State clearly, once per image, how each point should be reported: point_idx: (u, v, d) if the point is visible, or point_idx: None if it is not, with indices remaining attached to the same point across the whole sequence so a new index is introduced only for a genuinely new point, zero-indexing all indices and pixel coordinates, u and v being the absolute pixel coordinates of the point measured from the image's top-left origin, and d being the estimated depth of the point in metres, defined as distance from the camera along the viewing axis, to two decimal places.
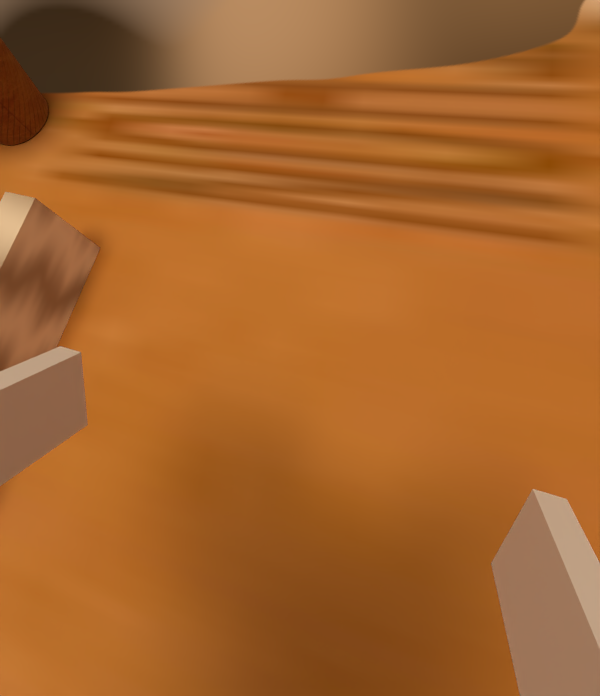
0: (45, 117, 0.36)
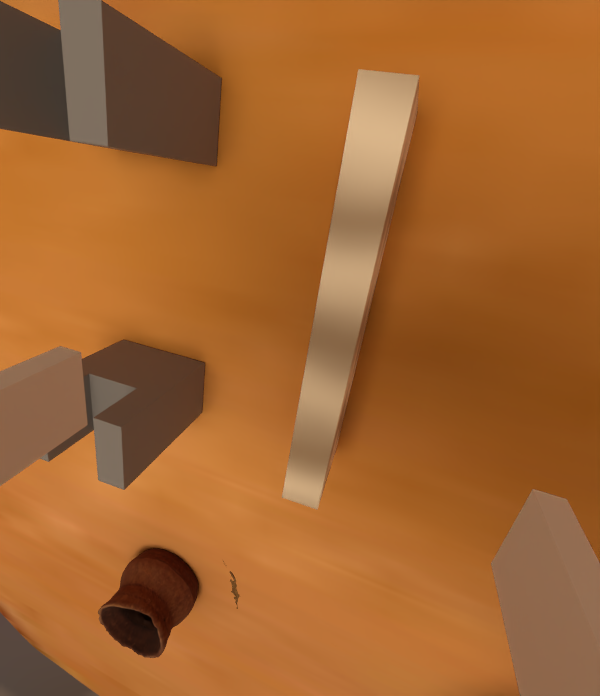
0: None
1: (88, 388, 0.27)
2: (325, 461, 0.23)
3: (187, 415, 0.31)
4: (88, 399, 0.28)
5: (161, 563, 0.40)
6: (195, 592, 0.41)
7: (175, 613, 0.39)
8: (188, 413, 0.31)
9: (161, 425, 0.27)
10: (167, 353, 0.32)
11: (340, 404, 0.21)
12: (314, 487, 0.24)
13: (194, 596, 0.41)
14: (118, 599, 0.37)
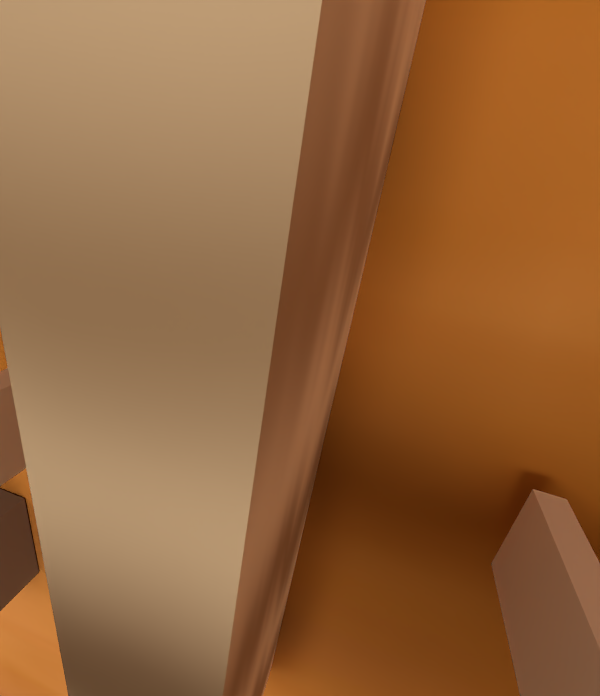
0: None
1: None
2: None
3: None
4: None
5: None
6: None
7: None
8: None
9: None
10: None
11: None
12: None
13: None
14: None
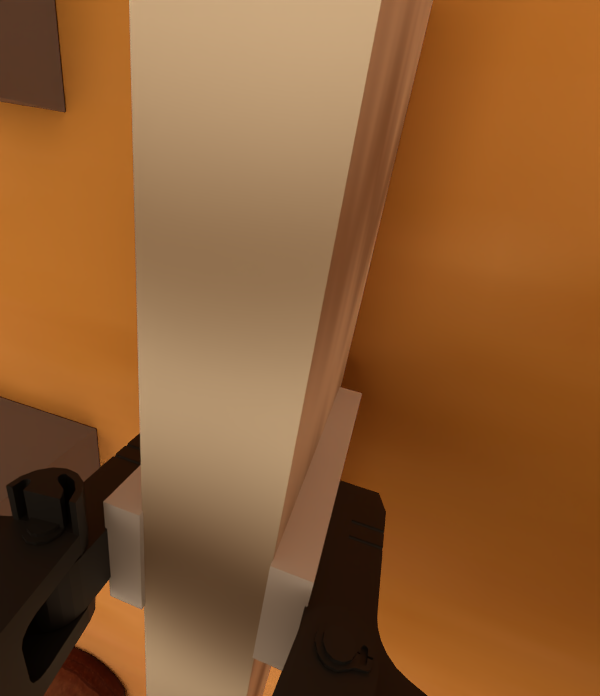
0: None
1: None
2: None
3: None
4: None
5: (67, 673, 0.30)
6: None
7: None
8: None
9: None
10: (40, 413, 0.21)
11: None
12: None
13: None
14: None
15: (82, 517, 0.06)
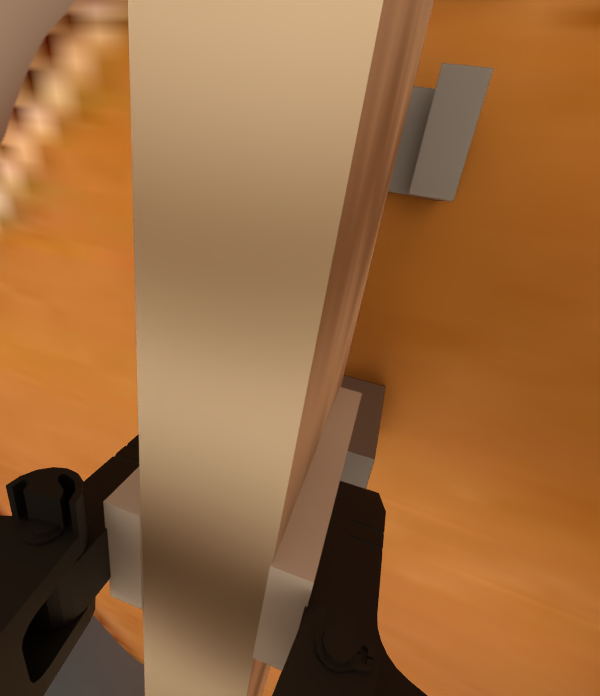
0: None
1: None
2: None
3: None
4: None
5: None
6: None
7: None
8: None
9: None
10: (346, 377, 0.32)
11: None
12: None
13: None
14: None
15: (82, 517, 0.06)
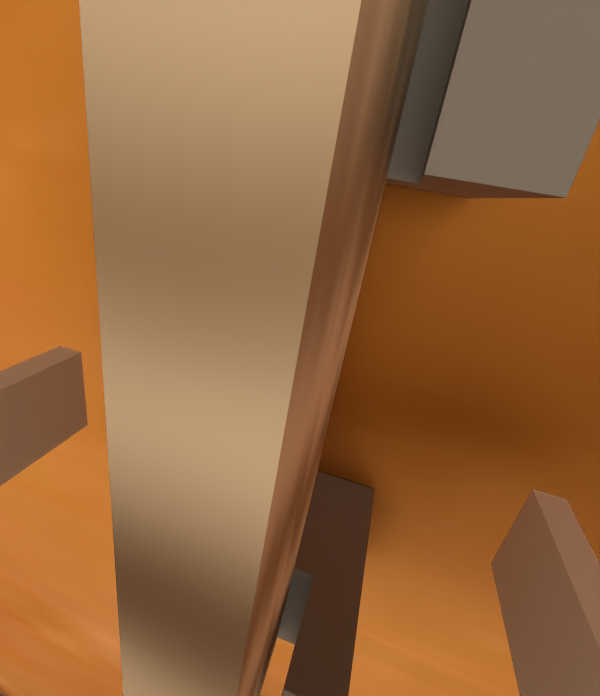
0: None
1: None
2: None
3: None
4: None
5: None
6: None
7: None
8: None
9: None
10: None
11: None
12: None
13: None
14: None
15: None
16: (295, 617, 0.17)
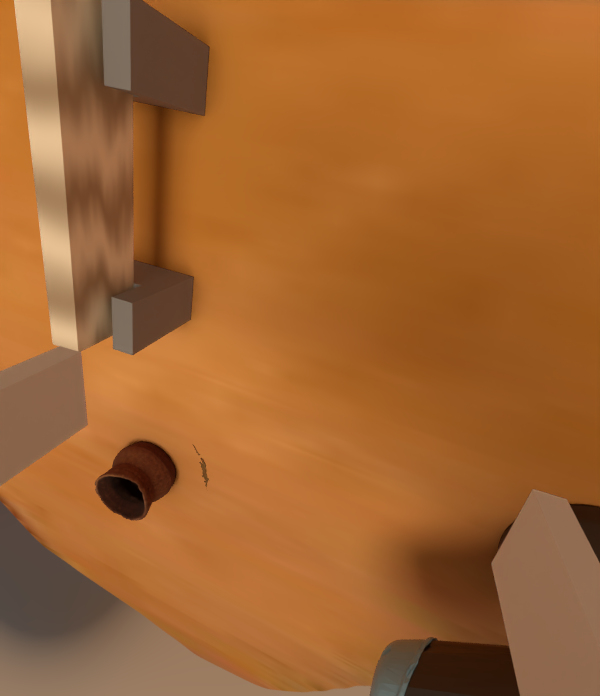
0: None
1: None
2: (72, 307, 0.29)
3: (179, 316, 0.39)
4: None
5: (146, 450, 0.50)
6: (173, 476, 0.52)
7: (156, 487, 0.49)
8: (180, 315, 0.39)
9: (159, 315, 0.36)
10: (163, 269, 0.40)
11: (69, 254, 0.27)
12: (71, 332, 0.30)
13: (172, 478, 0.51)
14: (111, 471, 0.47)
15: None
16: None
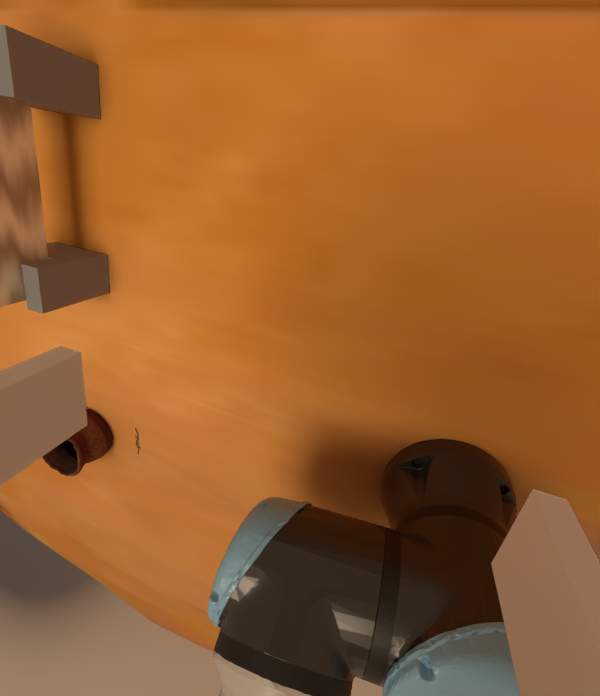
0: None
1: None
2: None
3: (94, 287, 0.47)
4: None
5: None
6: (109, 441, 0.59)
7: (92, 449, 0.56)
8: (95, 286, 0.47)
9: (70, 283, 0.43)
10: (83, 249, 0.48)
11: None
12: None
13: (108, 443, 0.58)
14: None
15: None
16: None
